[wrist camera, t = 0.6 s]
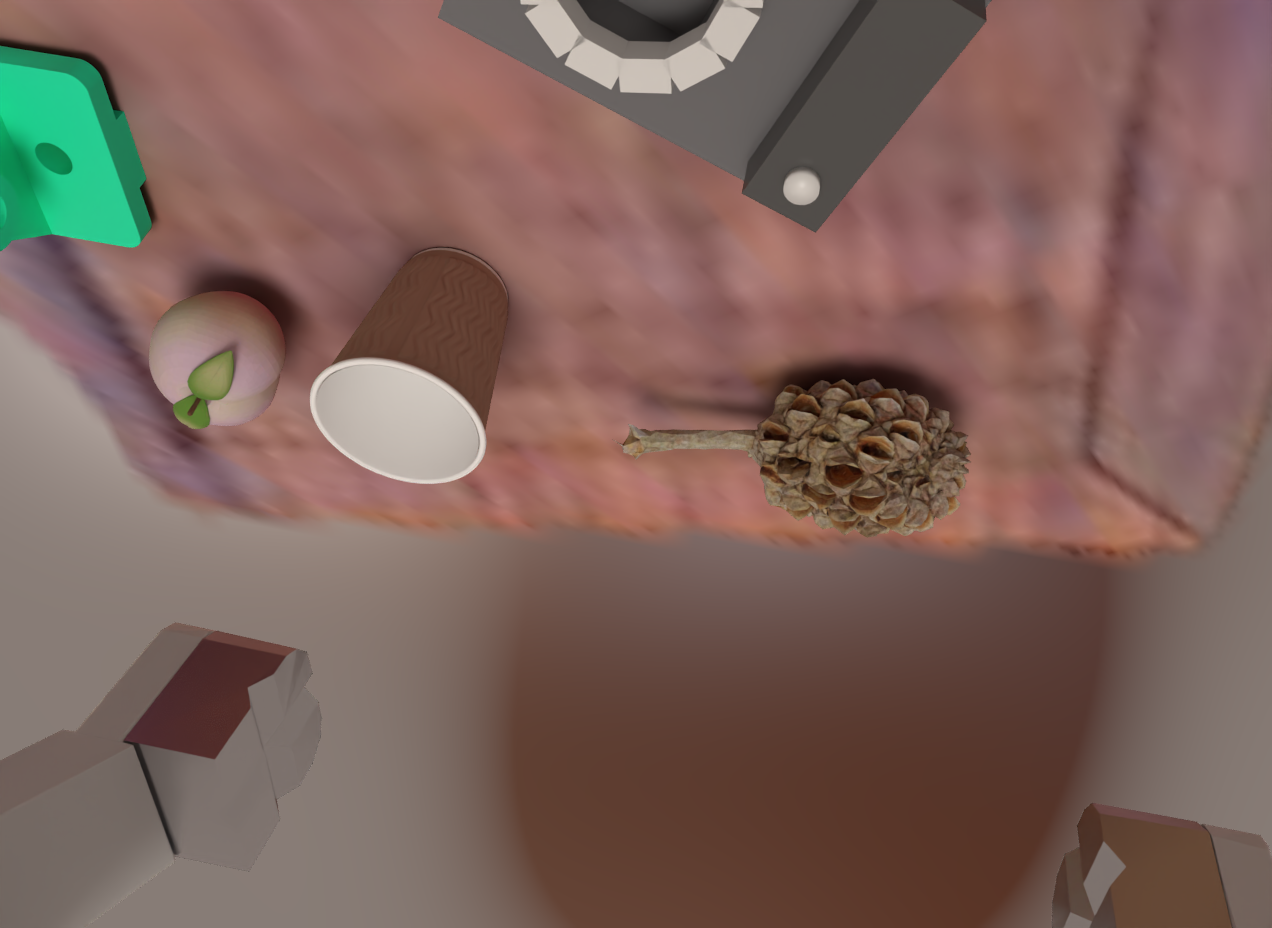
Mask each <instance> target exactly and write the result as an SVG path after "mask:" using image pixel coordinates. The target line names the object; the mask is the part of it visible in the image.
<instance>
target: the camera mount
mask: <svg viewBox="0 0 1272 928" xmlns="http://www.w3.org/2000/svg"><path fill="white" fill-rule="evenodd" d="M145 180H146V176H145V173H144V170H143V167H142V164H141V161H140V158H139V155H138V152H137V149H136V146H135V143H134V140H133V137H132V134H131V131H130V128H129V125H128V122H127V119H126V116H125V113H124V112H123V111H117V110H113V109H112V106H111V103H110V100H109V97H108V94H107V92H106V89H105V86H104V83H103V80H102V77H101V75H100V74H99V72H98V71H97V70H96V69H95V68H94V67H93V66H92V65H91V64H89V63H88V62H86V61H84V60H82V59H78V58H72V57H66V56H59V55H53V54H47V53H41V52H35V51H29V50H23V49H16V48H10V47H4V46H0V251H2V250H3V249H5V248H6V247H7V246H8V245H9V243H10V242H11V241H12V240H18V239H24V238H31V237H37V236H43V235H50V234H55V235H61V236H66V237H72V238H78V239H84V240H90V241H95V242H101V243H107V244H113V245H118V246H124V247H136V246H138V245H139V244H140V242H141V241H142V240H143V238H144V237H145V236H146V234H147V233H148V232H149V231H150V229H151V227H152V223H151V220H150V217H149V214H148V211H147V208H146V205H145V202H144V199H143V196H142V193H141V190H140V187H141V185H142V184H143V183H144V182H145Z"/></svg>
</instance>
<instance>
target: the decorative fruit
mask: <svg viewBox="0 0 1272 928" xmlns="http://www.w3.org/2000/svg"><path fill="white" fill-rule="evenodd" d="M285 354H286V346H285V340H284V336H283V332H282V330H281V327H280V325H279V323H278V322H277V320H276V318H275V317H274V316H273V314H272V313H271V312H270V311H269V309H267V308H266V307H265V306H264V305H263V304H261V303H260V302H259V301H257V300H255V299H254V298H252V297H250V296H247V295H245V294H242V293H238V292H233V291H213V292H206V293H202V294H198V295H195V296H192V297H190V298H187V299H185V300H183V301H180V302H178V303H177V304H175V305H174V306H172V307H171V308H170V309H169V310H168V311H166V313H165V314H164V315H163V316H162V317H161V318H160V320H159V321H158V322H157V324H156V326H155V328H154V330H153V333H152V337H151V343H150V351H149V365H150V370H151V374H152V377H153V379H154V381H155V383H156V385H157V387H158V388H159V390H160V391H161V392H162V394H163V395H164V396H165V397H166V398H167V399H168V400H169V401H170V402H172V403H173V404H174V406H173V411H174V413H175V416H176V417H177V419H178V420H179V421H180V422H182V423H183V424H185V425H188V427H190V428H193V429H202V428H205V427H207V426H208V425H209V424H211V425H219V426H235V425H241V424H243V423H246V422H248V421H251V420H253V419H255V418H256V417H258V416H259V415H261V414H262V413H263V412H264V411H265V410H266V409H267V408H268V407H269V406H270V404H271V402H272V400H273V398H274V396H275V393H276V390H277V386H278V382H279V378H280V372H281V370H282V368H283V365H284V361H285Z"/></svg>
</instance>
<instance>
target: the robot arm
mask: <svg viewBox="0 0 1272 928" xmlns="http://www.w3.org/2000/svg"><path fill="white" fill-rule="evenodd" d="M312 674H313V673H312V669H311V665H310V661H309V658H308V654H307V652H306V651H303V650H299V649H295V648H291V647H287V646H282V645H278V644H273V643H269V642H264V641H260V640H255V639H251V638H246V637H242V636H237V635H233V634H229V633H224V632H220V631H214V630H209V629H205V628H200V627H195V626H190V625H186V624H181V623H174V624H172V625H170V626H168V627H166V628H164V629H162V630H161V631H160V632H159V633H158V634H157V635H156V636H155V638H154V639H153V640H152V641H151V642H150V644H149V645H148V646H147V647H146V648H145V650H144V651H143V652H142V653H141V654H140V655H139V657H138V658H137V659H136V660H135V661H134V663H133V664H132V665H131V666H130V667H129V668H128V670H127V671H126V672H125V673H124V674H123V676H122V677H121V678H120V679H119V680H118V681H117V683H116V684H115V685H114V686H113V687H112V689H111V690H110V691H109V692H108V693H107V695H106V696H105V697H104V698H103V699H102V700H101V702H100V703H99V704H98V705H97V706H96V708H95V709H94V710H93V711H92V712H91V714H90V715H89V716H88V717H87V718H86V720H85V721H84V722H83V723H82V724H81V726H80V727H79V728H78V729H77V730H76V731H75V732H74V731H69V730H61V731H59V732H57V733H55V734H53V735H51V736H49V737H47V738H45V739H43V740H41V741H39V742H37V743H35V744H32V745H31V746H28V747H26V748H24V749H22V750H20V751H18V752H16V753H15V754H12V755H10V756H8V757H6V758H4V759H2V760H0V928H85V927H86V926H88V925H89V924H91V923H92V922H93V921H95V920H96V919H97V918H99V917H100V916H101V915H103V914H104V913H106V912H107V911H108V910H110V909H111V908H112V907H114V906H115V905H117V904H118V903H119V902H121V901H122V900H123V899H125V898H126V897H127V896H129V895H130V894H132V893H133V892H134V891H136V890H137V889H138V888H140V887H141V886H143V885H144V884H145V883H147V882H148V881H149V880H151V879H152V878H153V877H155V876H156V875H158V874H159V873H160V872H162V871H163V870H164V869H166V868H167V867H169V866H170V865H171V864H173V863H174V862H175V857H179V858H184V859H190V860H194V861H200V862H204V863H209V864H214V865H219V866H224V867H229V868H233V869H238V870H244V871H248V872H249V871H250V869H251V868H252V866H253V864H254V863H255V861H256V859H257V858H258V856H259V854H260V853H261V851H262V849H263V848H264V846H265V844H266V842H267V841H268V839H269V837H270V836H271V834H272V832H273V831H274V829H275V827H276V825H277V824H278V822H279V821H280V816H279V810H278V804H277V799H279V798H280V797H282V796H284V795H285V794H287V793H289V792H290V791H292V790H294V789H295V788H297V787H299V786H300V785H301V783H302V781H303V780H304V778H305V776H306V774H307V772H308V771H309V769H310V767H311V765H312V764H313V760H314V757H315V754H316V751H317V747H318V744H319V741H320V737H321V719H322V717H321V712H320V707H319V702H318V701H317V700H316V699H315V698H314V696H313V695H312V694H311V693H310V692H309V691H308V690H307V689H306V688H305V687H304V686H305V685H306V683H307V682H308V680H309V678H310V677H311V675H312ZM1077 831H1078V840H1079V847H1078V848H1076V849H1074V850H1072V851H1070V852H1068V853H1066V854H1065V855H1064V857H1063V860H1062V863H1061V865H1060V868H1059V871H1058V873H1057V876H1056V883H1055V888H1054V894H1053V900H1052V928H1272V856H1271V852H1270V849H1269V846H1268V844H1267V843H1266V842H1265V841H1264V839H1263V838H1262V837H1261V835H1257V834H1252V833H1247V832H1242V831H1237V830H1231V829H1226V828H1221V827H1215V826H1211V825H1206V824H1199V823H1197V822H1195V821H1189V820H1184V819H1178V818H1173V817H1167V816H1162V815H1157V814H1151V813H1145V812H1140V811H1135V810H1129V809H1124V808H1118V807H1113V806H1107V805H1102V804H1096V803H1091V804H1090V805H1089V806H1087V807H1086V808H1085V809H1084V811H1083V813H1082V815H1081V818H1080V820H1079V822H1078V824H1077Z"/></svg>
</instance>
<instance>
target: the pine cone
mask: <svg viewBox="0 0 1272 928" xmlns="http://www.w3.org/2000/svg"><path fill="white" fill-rule="evenodd" d="M628 425H629V427H630V431H629V436H628V438H627V439H626V441H625V442H624V444H623V445H622V444H620V443H618V442H617V443H618V444H620V445H621V446H622V448H623V452H624V453H628V454H630V455H633V456H634V457H635V459H637V458H638V457H639V456H640V455H641V454H642V453H647V452H656V451H665V450H672V449H675V448H677V449H693V448H697V449H714V448H721V449H741V450H744V451H747V452H748V457H749V458H750V457H753V459H754V460H755V461H756V462H757V463H758V464H759V465H760V467H761V470H760V476H761V478H762V480H763V482H764V489H765V496H766V499H767V501H768V503H769V504H770V505H773V506H777V507H781V508H782V509H784V510H786V511H788V512H789V514H790V515H791V516H793V517H794V518H795V519H797V520H800V519H802V518H804V517H805V516H806V515H807V516H808V517H810V516H813V518H814V521H815V523H816V524H817V525H818V526H819V527H821V528H822V529H826V528H833V527H834V528H836V529H837V530H838V531H840V532H841V533H842V534H844V535H846V534H847V533H849V532H850V531H852V530H853V529H855V530H857V531H858V532H859V533H860V534H862V535H864V536H865V537H873V536H877V534H880V533H888V532H889V530H890V529H891V530H893V531H895V532H897V533H899V534H902V535H904V536H907V535H909V534H911V533H912V532H913V531H914V530H915V531H919V532H923V531H925V530H928V529H931V528H933V521H934V518H935V517H937V518H939V519H940V520H941V519H942V518H943V517H945V516H946V515H950V514H952V513H953V512H954V511H956V510H957V509H958V507H959V506H960V503H959V502H958V500H957V499H956V498H955V497H954V496H959V490H960V489H963V488H965V484H966V480H965V478H964V476H963V474H966V473H969V471H968V469H967V468H965V467H964V464H967V463H970V461H969V460H968V459H966V457H968V456H969V455H971V453H970V452H969V450H968V449H967V447H966V443H967V442H965V440H966V438H967V437H968V435H966V434H964V433H962V432H955V431H952V430H951V428H952V427H953V425H954V424H953V422H952V421H951V420H950V419H949V411H945V410H941V409H938V408H933V409H931V410H929V402H928V401H927V400H926V398H925V397H923V396H920V395H917V394H912V395H909V396H908V395H907V393H906V391H905V390H903V391H898V390H897V389H884V388H883V387H882V385H881V384H880V383H879V382H877V381H876V380H875V379H872V380H868V381H864V382H860V383H859V384H858V385H857V386H856V385H851V384H850V383H848V382H847V381H845V380H844V379H843V380H841V381H839V382H837V383H835V384H830V383H829V382H827V381H823V380H821V381H819V382H818V383H816V384H815V385H814V386H813V387H811V388H810V389H809V390H808V392H807V391H806V390H803V389H802V388H801V387H798V386H794V385H791V384H790V385H789V386H787V387H785V388H784V390H783V391H782V393H781V394H779V395H778V396H777V398H776V400H775V408H774V411H773V414H772V415H771V416H770V417H768V418H767V419H765V420H764V421H762V422H761V423H760V424H758V430H729V431H714V430H655V431H648V430H646V429H638V428H637V427H635V426H633V425H630V424H628ZM612 440H613V439H612ZM614 441H615V440H614ZM615 442H616V441H615Z"/></svg>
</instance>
